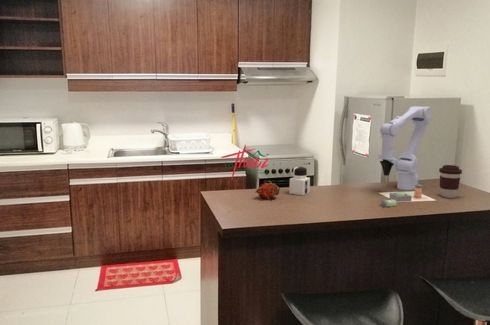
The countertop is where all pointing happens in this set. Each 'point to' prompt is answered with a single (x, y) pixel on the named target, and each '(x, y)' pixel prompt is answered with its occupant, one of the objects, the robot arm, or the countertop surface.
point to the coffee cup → (449, 180)
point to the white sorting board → (406, 197)
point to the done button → (400, 193)
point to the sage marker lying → (388, 203)
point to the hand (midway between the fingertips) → (386, 175)
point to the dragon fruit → (268, 190)
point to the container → (299, 182)
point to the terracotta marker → (418, 190)
